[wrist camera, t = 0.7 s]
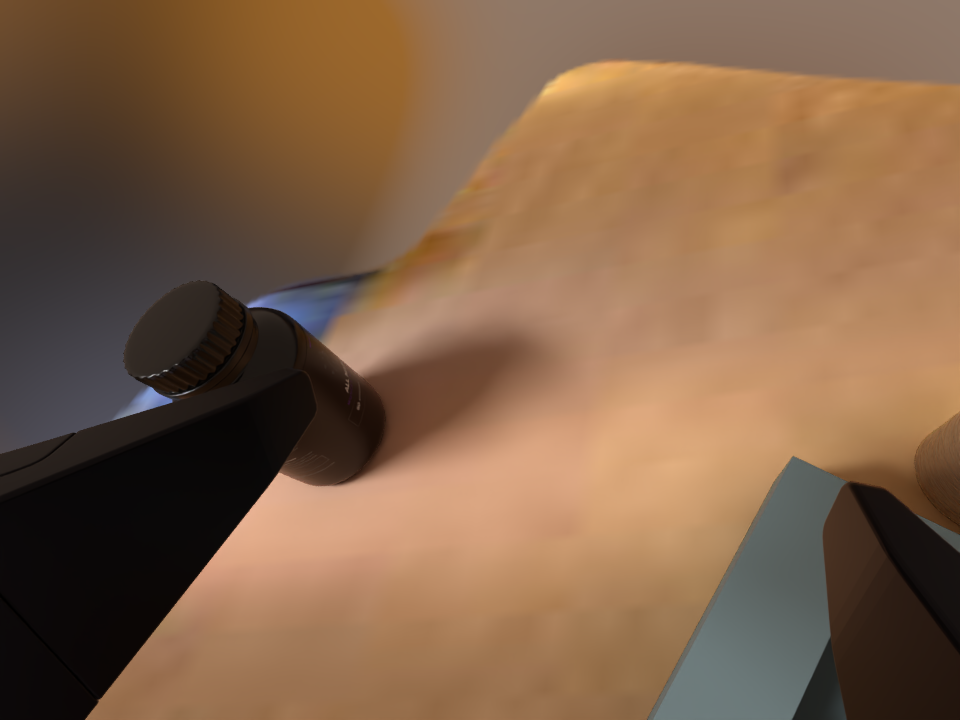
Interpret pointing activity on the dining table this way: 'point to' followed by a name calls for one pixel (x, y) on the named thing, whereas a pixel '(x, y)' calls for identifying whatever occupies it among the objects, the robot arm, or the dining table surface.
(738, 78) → the dining table surface
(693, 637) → the socket
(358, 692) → the dining table surface
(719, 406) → the dining table surface
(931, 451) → the grey cylindrical piece
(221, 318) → the supplement bottle
